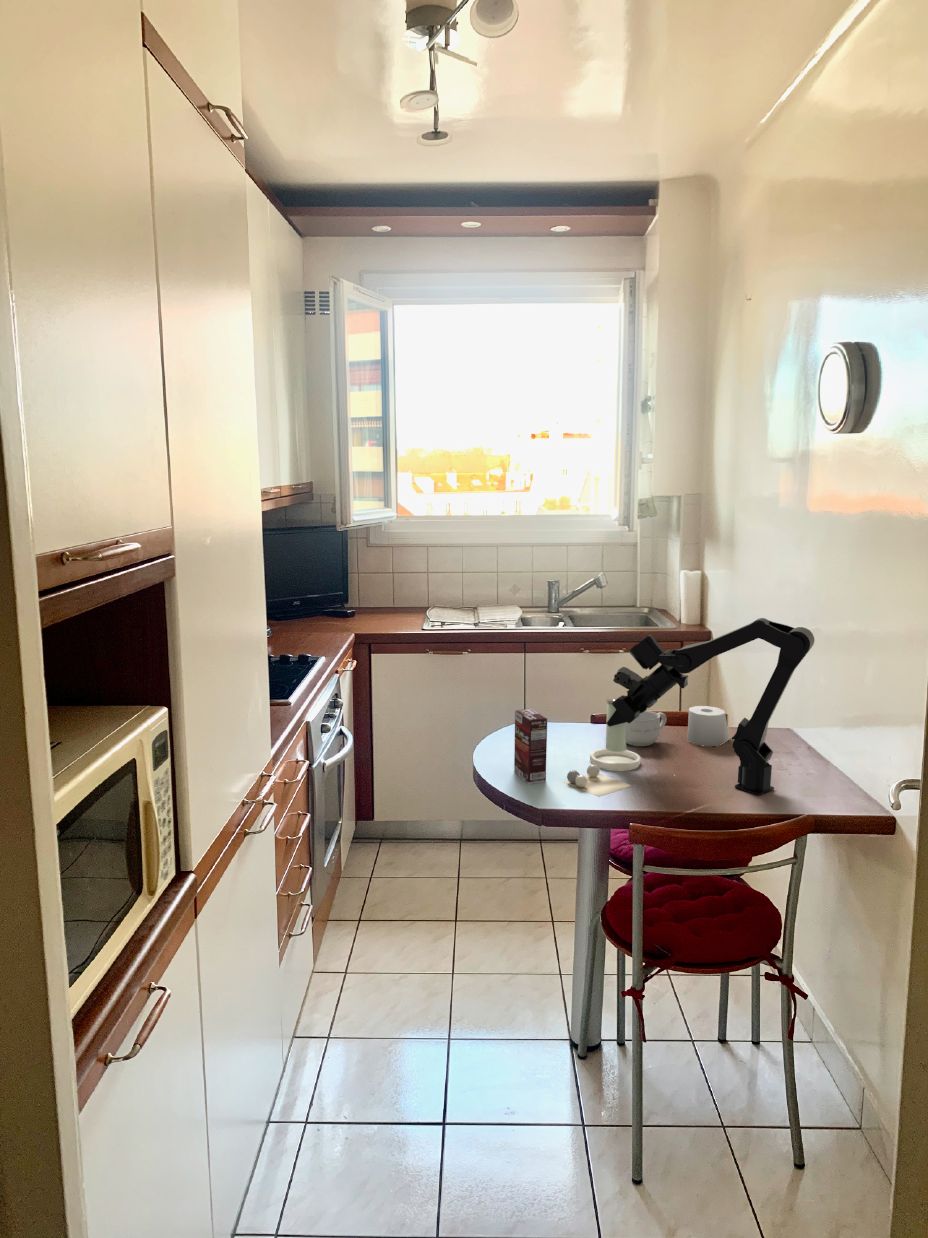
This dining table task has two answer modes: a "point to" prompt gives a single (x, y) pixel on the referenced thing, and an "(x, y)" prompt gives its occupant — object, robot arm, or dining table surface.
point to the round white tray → (615, 760)
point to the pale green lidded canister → (615, 730)
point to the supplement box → (530, 746)
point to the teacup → (645, 728)
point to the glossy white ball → (593, 771)
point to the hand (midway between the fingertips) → (611, 722)
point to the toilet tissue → (707, 726)
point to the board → (601, 785)
